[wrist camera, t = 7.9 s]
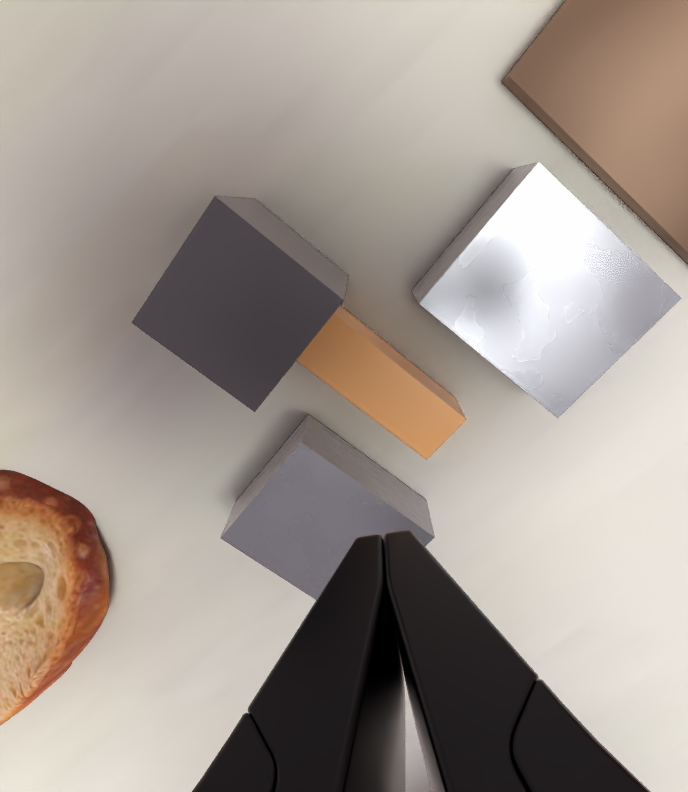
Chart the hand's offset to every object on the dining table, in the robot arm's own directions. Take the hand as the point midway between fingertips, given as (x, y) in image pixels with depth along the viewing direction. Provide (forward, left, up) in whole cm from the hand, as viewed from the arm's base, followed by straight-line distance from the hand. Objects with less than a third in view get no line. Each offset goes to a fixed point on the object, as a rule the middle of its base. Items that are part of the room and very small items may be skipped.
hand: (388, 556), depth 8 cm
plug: (+1, 0, -11) cm, 12 cm away
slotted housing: (-3, 0, -12) cm, 12 cm away
